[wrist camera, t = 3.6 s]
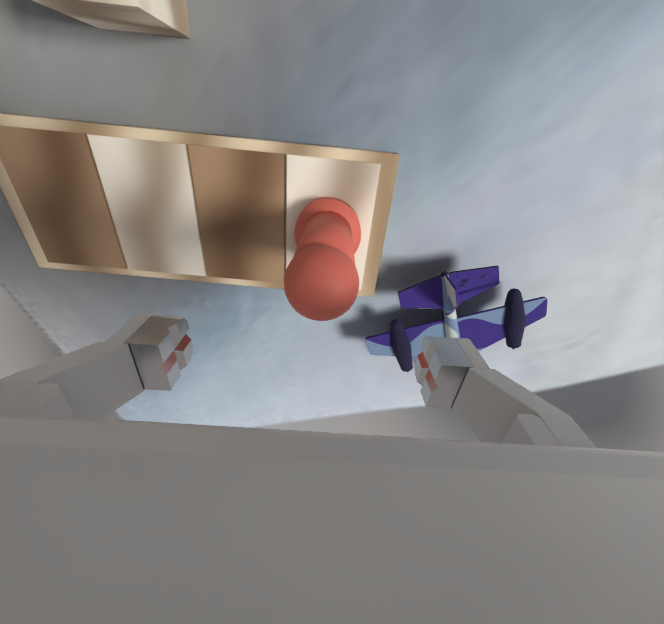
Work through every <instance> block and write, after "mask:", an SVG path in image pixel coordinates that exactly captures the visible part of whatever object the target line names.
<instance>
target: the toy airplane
mask: <svg viewBox="0 0 664 624" xmlns="http://www.w3.org/2000/svg"><path fill="white" fill-rule="evenodd" d="M497 284H499V267H498V266H491V267H484V268H476V269H469V270H461V271H454V272H450V273H448V272H446V271H443V272H442V273H441V275H438V276H436V277H433V278H431V279H428V280H426V281H423V282H421V283H419V284H416V285H414V286H411V287H409V288H406V289H404V290H402V291H399V292H398V295H399V300H400V305H401V308H418V309H438V308H443V310H442V319H440V320H436V321H431V322H427V323H423V324H419V325H415V326H411V327H407V328H404V327H403V326H402V324H401V322H400V321H399V320H397V319H394V320H392V321H391V323H390V332H386V333H382V334H378V335H373V336H369V337H367V338H366V343H367V346H368V349H369V352H370V354H373V355H386V356H396V358H397V360H398V363H399V365H400V367H401V369H402V371H407V372H408V371H410V370H411V369H412V368H413V366H412V358H417V355H419V354H420V353H421V352H422V349H421V346H420V345H421V342H422V339H423V338H424V336H429V337H446V338H468V339H469V340H471V342H472V343H473V345H474V346H475V348H476V349H477V350H478V351H480V350H482V349H484V348H486V347H488V346H490V345H492V344H493V343H495V342H497V341H499V340H501V339H503V338H506V344H507V346H508V347H510V348H513V350H514V349H515V348H518V347H520V346H521V341H522V337H523V332H524V328H525V327H526V326H528V325H530V324H532V323H534V322H536V321H537V320H539V319H541V318H543V317H545V316H546V311H547V299H546V298H545V297H539V298H535V299H531V300H527V301H523V299H522V295H521V292H520V291H519V290H518V289H511V290H509V291H508V294H507V297H506V301H505V305H504V306H501V307H497V308H493V309H489V310H485V311H480V312H476V313H472V314H468V315H464V316H459V317H457V316H456V310H455V309H456V308H457V307H458V306H459V304H460V303H462V302H464V301H466V300H468V299H470V298H472V297H474V296H476V295H478V294H480V293H482V292H484V291H486V290H487V289H489V288H491V287H493V286H495V285H497Z"/></svg>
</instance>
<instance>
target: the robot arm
mask: <svg viewBox="0 0 664 624" xmlns="http://www.w3.org/2000/svg"><path fill="white" fill-rule="evenodd" d="M188 330H189V326H188V322H187V320H186V319H185V318H178V317H167V316H156V315H155V316H154V315H144V314H138V315H135V316H134V317H132V318H131V319H130V320H129V321H128V322H127V323H126V324H125V325H123V326H122V327H121V328H120V329H119V330H118V331H117V332H116V333H114V334H113V335H112V336H111V337H110V338H109V339H108V340H107V341H105V342H98V343H95V344H92V345H90V346H87V347H84V348H82V349H79V350H76V351H74V352H71V353H68V354H66V355H63V356H61V357H58V358H55V359H53V360H50V361H47V362H45V363H42V364H40V365H37V366H34V367H31V368H29V369H26V370H23V371H21V372H18V373H15V374H13V375H10V376H7V377H5V378H2V379H0V624H664V452H648V451H632V450H615V449H598V448H596V446H595V445H594V444H593V443H592V442H591V441H590V439H589V438H588V437H587V436H586V435H585V433H584V432H583V431H582V430H581V429H580V427H579V426H578V425H577V424H576V423H575V422H574V420H573V419H572V418H571V417H570V416H569V415H567V414H566V413H564V412H563V411H561V410H559V409H558V408H556V407H555V406H553V405H551V404H550V403H548V402H546V401H545V400H543V399H542V398H540V397H538V396H537V395H535V394H534V393H532V392H530V391H529V390H527V389H525V388H524V387H522V386H521V385H519V384H517V383H516V382H514V381H513V380H511V379H509V378H508V377H506V376H504V375H503V374H501V373H500V372H498V371H496V370H495V369H490V368H489V367H488V365H487V364H486V362H485V361H484V359H483V358H482V356H481V355H480V353H479V352H478V350H477V349H476V348H475V346H474V345H473V343H472V342H471V340H469V339H468V338H446V337H429V336H424V338H423V339H422V342H421V345H420V346H421V349H422V352H421V353H420V354H419V355H417V358H416V362H415V376H416V379H417V382H418V383H419V384H420V385H422V389H421V394H422V397H423V400H424V403H425V405H426V407H434V408H446V409H451V411H452V412H453V413H454V414H455V415H456V416H457V417H458V418H459V419H460V420H461V421H462V422H463V423H464V424H465V425H466V426H467V427H468V428H469V429H470V430H471V431H472V432H473V433H474V434H475V435H476V436H477V437H478V438H479V439H480V440H481V441H482V442H481V441H464V440H445V439H428V438H412V437H411V438H410V437H396V436H379V435H361V434H346V433H331V432H314V431H313V432H312V431H296V430H280V429H263V428H245V427H228V426H212V425H195V424H178V423H161V422H144V421H128V420H109V419H103V418H104V417H106V416H107V415H109V414H110V413H112V412H113V411H115V410H116V409H118V408H119V407H120V406H122V405H123V404H125V403H126V402H128V401H129V400H131V399H132V398H134V397H135V396H137V395H138V394H140V393H141V392H143V391H144V390H143V389H147V390H172V388H173V387H174V385H175V384H176V382H177V381H178V379H179V377H180V376H181V375H180V371H179V370H181V369H183V368H184V367H186V366H187V365H188V363H189V362H190V360H191V356H192V352H193V345H192V340H191V339H190V338H189V337H188V336H187V335H186V333H187V332H188Z"/></svg>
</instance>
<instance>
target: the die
mask: <svg viewBox="0 0 664 624" xmlns="http://www.w3.org/2000/svg"><path fill="white" fill-rule="evenodd" d="M32 1H34V2H37V3H39V4H42V5H44V6H46V7H49V8H51V9H54V10H56V11H58V12H61V13H63V14H65V15H68V16H70V17H73V18H75V19H77V20H80V21H82V22H85V23H87V24H89V25H92V26H94V27H96V28H99V29H108V30H117V31H126V32H135V33H145V34H154V35H163V36H172V37H181V38H190V32H189V24H188V16H187V9H186V1H185V0H32Z"/></svg>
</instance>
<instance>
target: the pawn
mask: <svg viewBox="0 0 664 624" xmlns="http://www.w3.org/2000/svg"><path fill="white" fill-rule="evenodd" d="M294 237H295V242H296V245H297V249H296V251H295V254H294V257H293V259H292V260H291V261H290V263H289V265H288V267H287V269H286V272H285V276H284V290H285V294H286V296H287V299H288V301H289V303H290V304H291V306H292V307H293V308H294V309H295V310H296V311H297V312H298V313H299V314H301V315H302V316H304V317H306V318H309V319H312V320H317V321H327V320H332V319H335V318H337V317H339V316H341V315H343V314H344V313H345V312H346V311H348V310H349V309H350V307H351V306H352V305H353V303H354V301H355V300H356V297H357V294H358V291H359V276H358V272H357V269H356V267H355V257H354V254H355V253H356V251H357V249H358V247H359V244H360V241H361V228H360V223H359V219H358V216H357V214H356V212H355V211H354V210H353V208H352V207H351V206H350V205H349V204H347V203H346V202H344V201H343V200H341V199H338V198H334V197H322V198H318V199H315V200H313V201H312V202H310V203H309V204H307V205H306V206H305V207H304V209H303V210H302V211H301V213H300V215H299V217H298V219H297V222H296V224H295V230H294Z"/></svg>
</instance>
